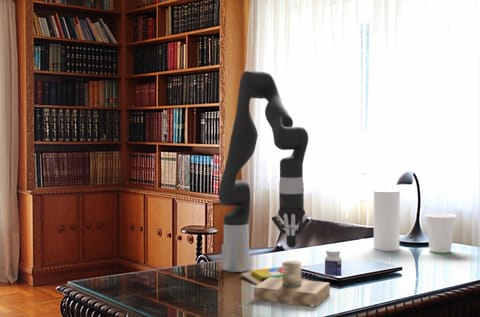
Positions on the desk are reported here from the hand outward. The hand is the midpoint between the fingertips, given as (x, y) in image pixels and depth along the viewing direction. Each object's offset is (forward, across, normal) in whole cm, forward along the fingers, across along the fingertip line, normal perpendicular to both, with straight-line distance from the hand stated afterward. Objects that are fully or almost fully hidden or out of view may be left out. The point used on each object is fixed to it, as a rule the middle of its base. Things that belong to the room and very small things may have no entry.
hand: (291, 247), depth 201 cm
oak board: (+16, 0, 0) cm, 16 cm away
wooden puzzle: (+17, -13, +19) cm, 28 cm away
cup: (+16, +33, +89) cm, 96 cm away
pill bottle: (+16, +5, +28) cm, 33 cm away
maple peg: (+15, 0, 0) cm, 15 cm away
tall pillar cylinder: (+16, +11, +88) cm, 90 cm away
